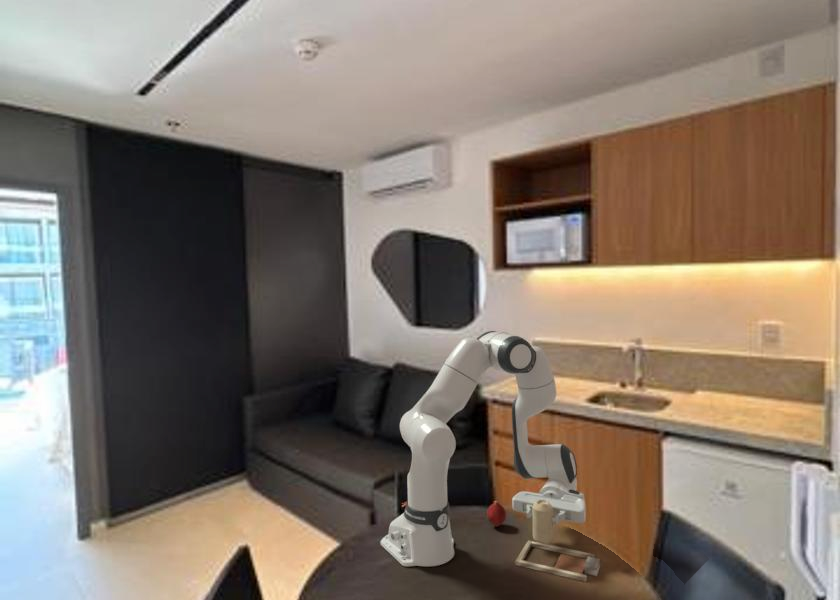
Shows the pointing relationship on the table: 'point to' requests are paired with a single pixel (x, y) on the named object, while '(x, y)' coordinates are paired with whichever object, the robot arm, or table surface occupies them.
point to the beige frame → (562, 562)
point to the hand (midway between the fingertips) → (541, 518)
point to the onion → (496, 514)
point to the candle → (542, 521)
